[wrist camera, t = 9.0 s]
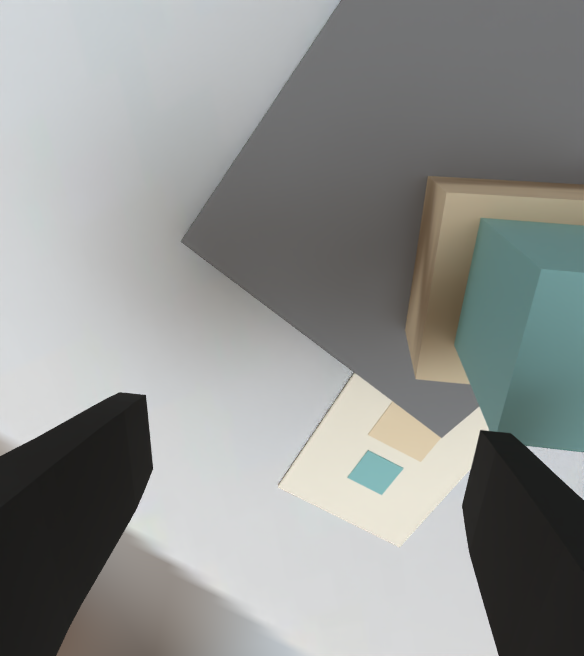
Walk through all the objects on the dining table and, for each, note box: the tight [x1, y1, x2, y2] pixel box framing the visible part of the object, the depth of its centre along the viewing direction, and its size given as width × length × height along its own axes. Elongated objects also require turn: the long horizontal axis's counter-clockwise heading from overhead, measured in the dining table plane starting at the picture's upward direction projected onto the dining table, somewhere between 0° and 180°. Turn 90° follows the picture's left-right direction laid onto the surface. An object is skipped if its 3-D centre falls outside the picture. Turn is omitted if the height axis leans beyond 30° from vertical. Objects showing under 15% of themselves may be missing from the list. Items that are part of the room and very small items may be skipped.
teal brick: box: [454, 218, 584, 452], centre depth 12 cm, size 4×4×5 cm
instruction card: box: [278, 373, 489, 547], centre depth 22 cm, size 10×7×1 cm
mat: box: [181, 0, 584, 438], centre depth 17 cm, size 20×14×1 cm
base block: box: [405, 176, 584, 384], centre depth 16 cm, size 6×6×4 cm
